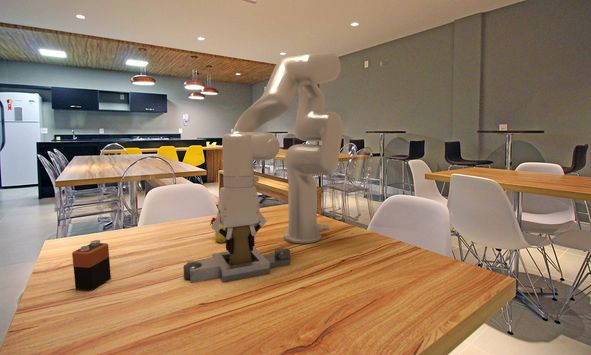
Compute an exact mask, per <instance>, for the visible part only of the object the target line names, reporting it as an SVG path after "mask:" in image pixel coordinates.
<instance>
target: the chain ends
mask: <svg viewBox="0 0 591 355" xmlns="http://www.w3.org/2000/svg"><path fill="white" fill-rule="evenodd" d="M250 253H251V259H252V262H250V263H244V264H238V265H233V266H229V262H230V253H229V252H228V251H223V252H217V253H212V257H210V258H205V259H197V260H191V261H186V264H184V265H183V279H184V281H187V282H190V283H191V284H192V283H198V282H202V281H207V280H208V281H209V280H214V279H220V280H221V282H222V283H227V282H233V281H238V280H242V279H243V280H244V279H249V278H254V277H259V276H264V275H269V274H270V269H273V268H274V269H275V268H279V267H285V266H290V265H291V250H290V249H289V248H284V247H283V248H276V249H275V250H274V251H273V253H268V254H263V253H261V252H260V251H259V250H258V249H257V248H256V247H255V246H253V251H250Z"/></svg>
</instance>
